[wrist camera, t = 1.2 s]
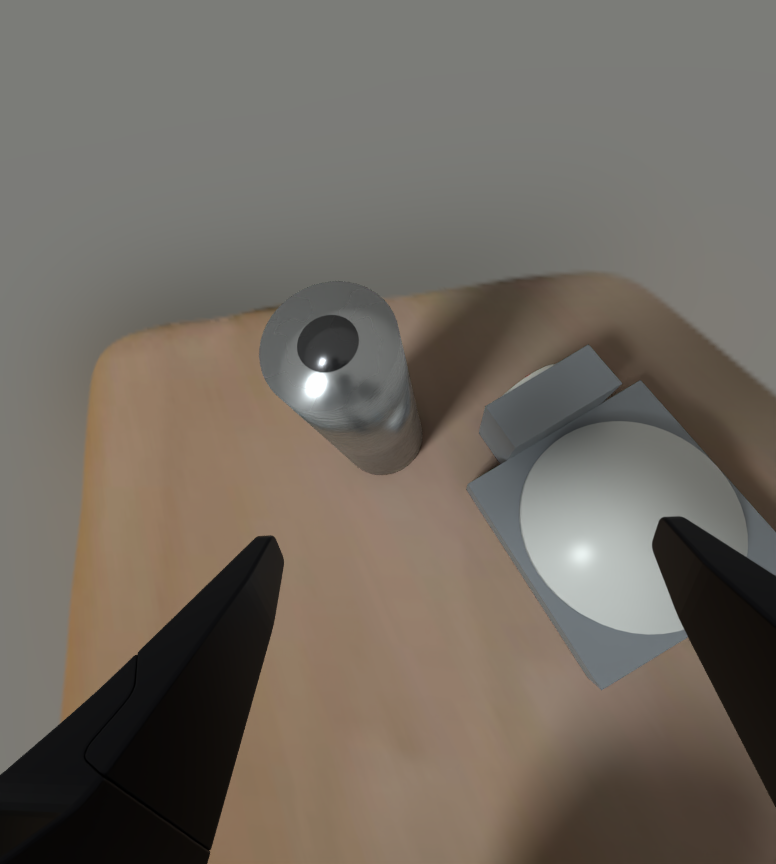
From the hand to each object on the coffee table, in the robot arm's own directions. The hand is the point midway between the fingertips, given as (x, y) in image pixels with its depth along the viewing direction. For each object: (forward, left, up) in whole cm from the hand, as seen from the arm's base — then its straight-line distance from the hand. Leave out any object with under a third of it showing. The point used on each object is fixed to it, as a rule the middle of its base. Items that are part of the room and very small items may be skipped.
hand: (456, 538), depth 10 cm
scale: (+8, -2, -14) cm, 16 cm away
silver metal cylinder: (0, +8, -14) cm, 16 cm away
